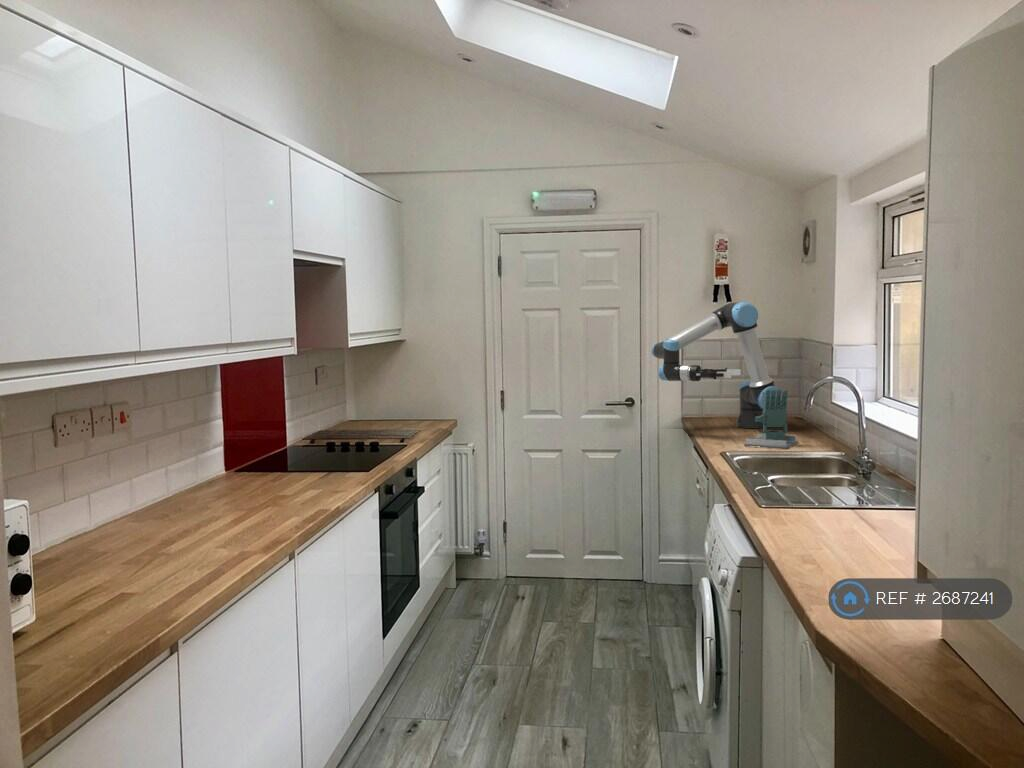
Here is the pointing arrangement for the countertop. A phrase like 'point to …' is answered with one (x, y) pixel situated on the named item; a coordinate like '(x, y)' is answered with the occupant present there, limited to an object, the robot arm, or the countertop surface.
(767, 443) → the rail dock
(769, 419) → the robotic hand
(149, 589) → the countertop surface
